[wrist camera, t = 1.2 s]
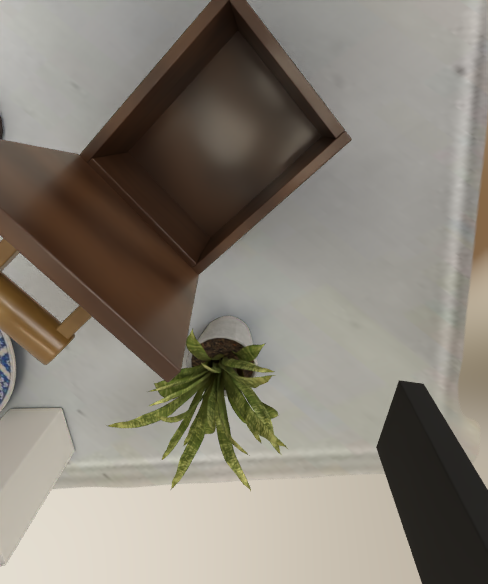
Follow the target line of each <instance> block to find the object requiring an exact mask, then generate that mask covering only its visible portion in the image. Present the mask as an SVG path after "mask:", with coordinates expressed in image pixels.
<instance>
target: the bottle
mask: <svg viewBox="0 0 488 584" xmlns="http://www.w3.org/2000/svg"><path fill="white" fill-rule="evenodd" d="M2 134H3V128H2V120H1V117H0V139H1V140H2Z"/></svg>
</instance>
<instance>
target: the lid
mask: <svg viewBox="0 0 488 584" xmlns="http://www.w3.org/2000/svg"><path fill="white" fill-rule="evenodd" d="M0 235H1V236H2V237H3V239H2V240H1V242H0V329H1V330H2V331H3V332H4V333H6V334H7V335H8V336H9V337H11V338H12V339H13V340H14V341H15V342H17V343H18V344H19V345H20V346H22V347H23V348H24V349H25V350H27V351H28V352H29V353H30V354H32V355H33V356H34V357H35V358H36V359H38V360H39V361H40V362H41V363H43V364H44V365H47V364H48V363H49V362H50V361H52V360H53V359H54V358H55V357H56V356H57V355H58V354H59V353H60V352H61V351H62V350H63V349H64V348H65V347H66V346H67V345H68V344H69V343H70V342H71V341H72V340H73V338H74V337H75V334H74V333H75V332H76V331H77V330H78V329H79V328H80V327H81V326H82V325H83V324H85V323H86V322H87V321H88V320H89V319H90V318H91V317H93V318H95V319H96V320H97V321H98V322H99V323H100V324H101V325H102V326H104V327H105V328H106V329H107V330H108V331H109V332H110V333H112V334H113V335H114V336H115V337H116V338H117V339H118V340H119V341H121V342H122V343H123V344H124V345H125V346H126V347H127V348H129V349H130V350H131V351H132V352H133V353H134V354H135V355H136V356H138V357H139V358H140V359H141V360H142V361H143V362H144V363H146V364H147V365H148V366H149V367H150V368H151V369H152V370H153V371H155V372H156V373H157V374H158V375H159V376H160V377H161V378H163V379H164V380H165V381H166V382H170V381H171V380H172V379H173V378H174V377H175V376H176V375H177V374H179V373H180V371H181V367H182V362H183V357H184V351H185V346H186V341H187V335H188V330H189V325H190V319H191V314H192V309H193V304H194V298H195V293H196V288H197V282H198V277H199V275H198V274H197V273H196V272H195V271H194V270H193V269H192V268H191V267H190V266H189V265H188V264H187V263H186V262H185V261H184V260H183V259H182V258H181V257H180V256H179V255H178V254H177V253H176V252H175V251H174V250H173V249H172V248H171V247H170V246H169V245H168V244H167V243H166V242H165V241H164V240H163V239H162V238H161V237H160V236H159V235H158V234H157V233H156V232H155V231H154V230H153V229H152V228H151V227H150V226H149V225H148V224H147V223H146V222H145V221H144V220H143V219H142V218H141V217H140V216H139V215H138V214H137V213H136V212H135V211H134V210H133V209H132V208H131V207H130V206H129V205H128V204H127V203H126V202H125V201H124V200H123V199H122V198H121V197H120V196H119V195H118V194H117V193H116V192H115V191H114V190H113V189H112V188H111V187H110V186H109V185H108V184H107V183H106V182H105V181H104V180H103V179H102V178H101V177H100V176H99V175H98V174H97V173H96V172H95V171H94V170H93V169H92V168H91V167H90V166H89V165H88V164H87V163H86V162H85V160H84V159H83V158H82V157H81V156H80V155H79V154H75V153H69V152H64V151H59V150H54V149H48V148H43V147H38V146H32V145H27V144H22V143H17V142H11V141H6V140H1V139H0ZM19 253H21V254H22V255H23V256H24V257H25V258H27V259H28V260H29V261H30V262H31V263H32V264H33V265H35V266H36V267H37V268H38V269H39V270H40V271H41V272H42V273H44V274H45V275H46V276H47V277H48V278H49V279H50V280H52V281H53V282H54V283H55V284H56V285H57V286H58V287H59V288H61V289H62V290H63V291H64V292H65V293H66V294H67V295H69V296H70V297H71V298H72V299H73V300H74V301H75V302H76V303H78V304H79V306H78V307H77V308H76V309H75V310H74V311H73V312H72V313H71V314H70V315H69V316H68V317H67V318H66V319H65V320H64V321H63V322H62V323H61V322H60V321H58V320H57V319H56V318H55V317H54V316H53V315H51V314H50V313H49V312H48V311H47V310H46V309H44V308H43V307H42V306H41V305H40V304H39V303H37V302H36V301H35V300H34V299H33V298H32V297H30V296H29V295H28V294H27V293H26V292H25V291H23V290H22V289H21V288H20V287H19V286H18V285H16V284H15V283H14V282H13V281H12V280H11V279H9V278H8V277H7V276H6V275H5V274H4V273H2V272H1V271H2V270H3V269H4V268H5V267H6V266H7V265H8V264H9V263H10V262H11V261H12V260H13V259H14V258H15V257H16V256H17V255H18V254H19Z"/></svg>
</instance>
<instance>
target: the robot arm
mask: <svg viewBox="0 0 488 584" xmlns="http://www.w3.org/2000/svg"><path fill="white" fill-rule="evenodd" d="M376 448H377V451H378V454H379V457H380V460H381V463H382V465H383V468H384V471H385V474H386V477H387V480H388V483H389V486H390V489H391V492H392V495H393V498H394V501H395V504H396V507H397V510H398V513H399V516H400V519H401V522H402V525H403V528H404V531H405V534H406V537H407V540H408V543H409V546H410V548H411V552H412V555H413V558H414V561H415V564H416V567H417V570H418V573H419V576H420V578H421V582H422V584H488V490H487V488H486V486H485V485H484V483H483V482H482V480H481V478H480V477H479V475H478V473H477V472H476V470H475V468H474V467H473V465H472V463H471V462H470V460H469V458H468V457H467V455H466V453H465V452H464V450H463V448H462V447H461V445H460V443H459V442H458V440H457V438H456V437H455V435H454V433H453V432H452V430H451V429H450V427H449V425H448V424H447V422H446V420H445V419H444V417H443V415H442V414H441V412H440V410H439V409H438V407H437V405H436V404H435V402H434V400H433V399H432V397H431V395H430V394H429V392H428V390H427V389H426V387H425V386H424V384H421V383H414V382H406V381H399V382H398V385H397V388H396V391H395V394H394V397H393V400H392V403H391V406H390V409H389V412H388V415H387V418H386V421H385V423H384V426H383V429H382V432H381V435H380V438H379V441H378V444H377V447H376Z"/></svg>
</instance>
